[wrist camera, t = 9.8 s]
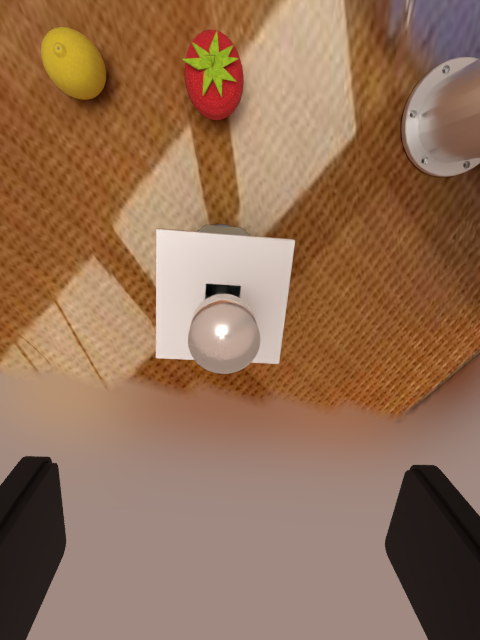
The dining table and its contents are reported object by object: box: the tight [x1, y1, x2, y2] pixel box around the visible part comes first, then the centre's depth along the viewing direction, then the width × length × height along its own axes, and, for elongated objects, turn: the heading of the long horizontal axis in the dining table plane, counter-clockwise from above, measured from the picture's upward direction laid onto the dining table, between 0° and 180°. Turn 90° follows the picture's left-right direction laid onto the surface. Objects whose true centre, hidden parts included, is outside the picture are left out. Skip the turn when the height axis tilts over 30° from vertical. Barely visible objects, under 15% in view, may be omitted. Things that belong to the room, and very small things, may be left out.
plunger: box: [188, 284, 260, 374], centre depth 32 cm, size 8×8×24 cm
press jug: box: [156, 224, 295, 370], centre depth 37 cm, size 14×11×17 cm
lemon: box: [41, 27, 106, 100], centre depth 34 cm, size 6×6×8 cm
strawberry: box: [182, 30, 243, 120], centre depth 34 cm, size 6×8×10 cm
